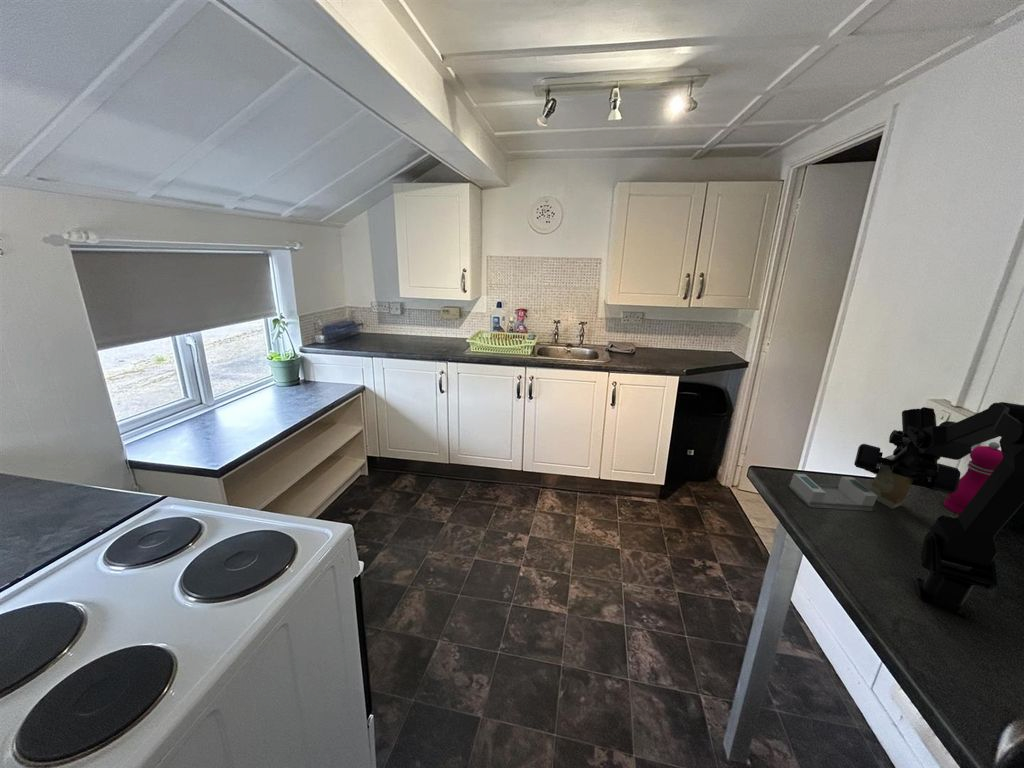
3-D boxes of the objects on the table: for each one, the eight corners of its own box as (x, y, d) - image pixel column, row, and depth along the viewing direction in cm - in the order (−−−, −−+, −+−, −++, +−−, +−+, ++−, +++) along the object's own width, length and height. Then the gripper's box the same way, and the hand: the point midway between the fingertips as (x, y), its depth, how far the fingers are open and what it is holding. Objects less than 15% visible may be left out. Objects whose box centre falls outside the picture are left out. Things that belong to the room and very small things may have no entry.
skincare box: (865, 495, 112) (882, 456, 107) (874, 492, 113) (891, 453, 109) (894, 509, 106) (913, 469, 102) (902, 506, 108) (921, 466, 104)
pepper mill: (962, 502, 111) (997, 437, 104) (988, 520, 104) (1027, 451, 97) (933, 499, 111) (966, 434, 104) (957, 517, 105) (994, 448, 98)
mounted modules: (848, 488, 113) (853, 476, 112) (872, 507, 105) (878, 495, 104) (789, 484, 113) (794, 472, 112) (809, 503, 105) (814, 491, 104)
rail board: (846, 490, 114) (848, 485, 113) (872, 511, 105) (874, 506, 105) (788, 486, 114) (789, 482, 113) (809, 507, 105) (811, 502, 105)
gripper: (977, 440, 93) (946, 463, 106) (872, 416, 104) (855, 439, 116) (970, 485, 90) (939, 503, 102) (862, 455, 100) (846, 474, 113)
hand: (893, 477), depth 108 cm, fingers closed on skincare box, 7 cm apart
